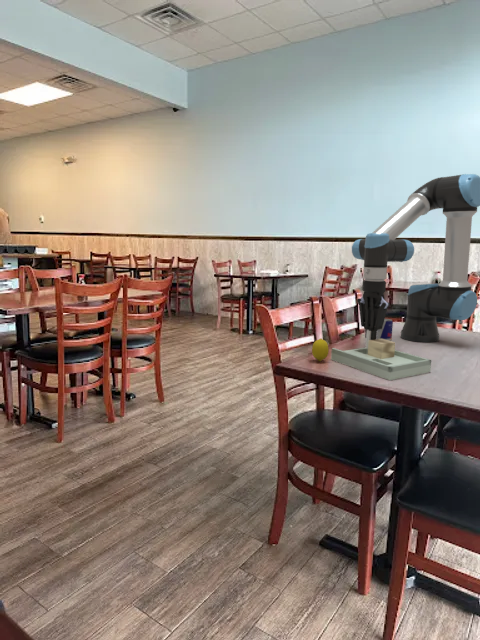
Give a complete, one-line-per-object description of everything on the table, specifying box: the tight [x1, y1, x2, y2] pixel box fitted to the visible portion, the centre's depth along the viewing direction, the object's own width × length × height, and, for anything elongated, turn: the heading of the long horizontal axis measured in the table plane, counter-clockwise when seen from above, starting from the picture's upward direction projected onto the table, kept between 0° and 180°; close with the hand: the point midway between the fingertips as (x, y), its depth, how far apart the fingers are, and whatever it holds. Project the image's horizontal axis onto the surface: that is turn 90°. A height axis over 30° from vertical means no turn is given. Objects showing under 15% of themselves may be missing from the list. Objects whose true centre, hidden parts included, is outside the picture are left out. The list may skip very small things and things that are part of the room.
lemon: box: [311, 338, 330, 362], centre depth 151 cm, size 6×6×8 cm
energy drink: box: [376, 318, 394, 342], centre depth 165 cm, size 5×5×12 cm
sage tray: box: [330, 347, 432, 381], centre depth 147 cm, size 18×26×4 cm
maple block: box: [368, 339, 396, 359], centre depth 150 cm, size 6×6×5 cm
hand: (369, 348), depth 154 cm, fingers closed
